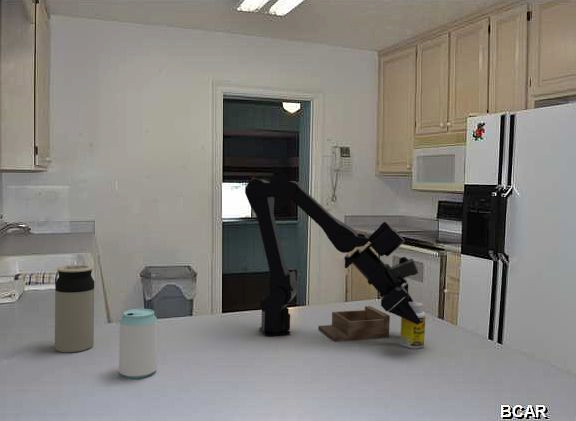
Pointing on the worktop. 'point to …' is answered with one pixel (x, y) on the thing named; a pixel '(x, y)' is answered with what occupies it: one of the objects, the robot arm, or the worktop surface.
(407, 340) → the supplement bottle
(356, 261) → the robot arm
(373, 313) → the open wooden box
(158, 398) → the worktop surface
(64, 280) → the travel mug
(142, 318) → the can
